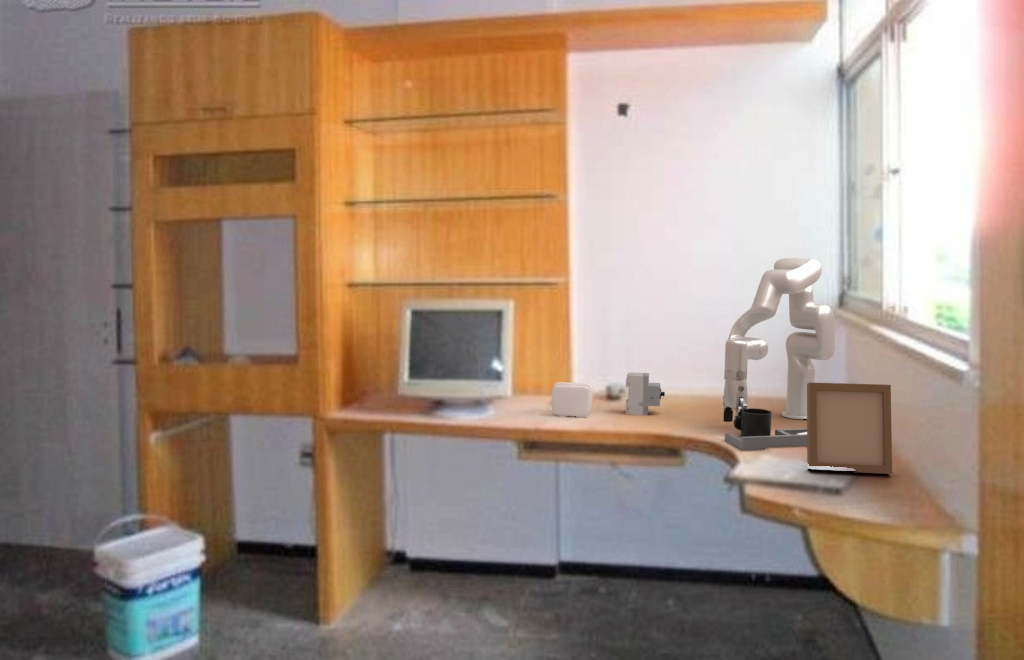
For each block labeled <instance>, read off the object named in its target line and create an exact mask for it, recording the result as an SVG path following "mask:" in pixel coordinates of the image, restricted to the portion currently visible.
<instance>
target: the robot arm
mask: <svg viewBox="0 0 1024 660" xmlns="http://www.w3.org/2000/svg"><path fill="white" fill-rule="evenodd" d="M822 271H823V268H822V265H821V263H820V262H819V260H817V259H814V258H795V257H794V258H793V257H791V258H790V257H788V258H787V257H786V258H780V259H777V260H775V262H774V264H773V269H769V270H766V271H765V272H763V274H762V276H761V278H760V281H759V284H758V286H757V289H756V293H755V296H754V298H753V300H752V301H753V302H752V304H751V307H750V308H749V309H748V310H746V311H745V312H744V313H743V314H742V315H741V316H740V317H739V318H738V319H736V321H735V322H734V323H733V325H732V327H731V328H730V329H731V330H730V333H729V335H728V339H727V340H726V341H725V346H724V349H725V351H724V371H723V373H724V375H723V380H724V386H723V388H724V389H723V396H722V400H723V402H722V405H723V408H722V409H723V422H725V423H729V422H730V423H731V422H734V420H735V419H736V418H737V417H740V416H742V410H743V409H748V408H749V407H748V401H749V400H748V399H749V398H748V395H749V393H748V385H747V384H748V383H747V379H748V361H749V360H750V361H751V360H752V361H753V360H755V361H759V360H762V359H764V358H765V357H766V356H767V355H768V353H769V346H768V343H767V342H766V341H765V340H763V339H762V338H757V337H749V336H746V334H747V333H748V331H749V330H750V329H751V328H752V327H754V326H755V325H756V326H757V325H758V324H759V323H762V322H765V321H767V320H770V319H772V318H774V316H775V315H776V313H777V310H778V308H779V305H780V303H781V302H780V301H781V299H782V296H783V295H788V312H789V313H788V314H789V316H788V317H789V322H790V325H791V327H793V328H795V329H800V330H808V331H809V330H810V331H815V332H808V331H807V332H806V331H794V332H792V333H790V334H789V335H788V336H787V337H786V340H785V350H786V356H787V378H786V379H787V380H786V381H787V382H786V406H785V407H786V409H785V410H784V411H781V416H782V417H785V418H788V419H792V420H803V419H807V384H808V383H815V378H816V377H815V375H816V373H815V372H816V371H815V366H814V363H813V361H812V360H817V361H828V360H830V359H831V358H833V356H834V353H835V349H836V323H835V314H834V311H833V309H832V308H831V307H830V306H829V305H827V304H823V303H822V304H821V303H815V302H814V290H813V287H812V286H813V285H814V284H815V283H817V281H819V279H820V278H821V276H822ZM734 410H735V414H736V415H735V416H734ZM734 417H735V418H734ZM733 419H734V420H733ZM741 423H742V419H739V420H737V422H736V425H737V426H738V427H741Z"/></svg>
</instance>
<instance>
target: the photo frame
mask: <svg viewBox="0 0 1024 660" xmlns="http://www.w3.org/2000/svg"><path fill="white" fill-rule="evenodd" d="M891 386H892V385H891V384H876V383H875V384H874V383H871V384H870V383H843V382H842V383H841V382H840V383H838V382H837V383H836V382H834V383H833V382H814V383H808V384H807V420H806V428H807V446H806V450H807V451H806V456H807V457H806V458H807V459H806V460H807V461H806V464H807V463H808V464H809V466H830V467H832V466H833V467H847V468H853V469H855V470H856V471H857V472H856V473H863V474H865V473H866V474H882V475H883V474H885V475H887V474H888V475H890V474H891V475H893V447H892V446H893V444H892V440H893V439H892V437H893V436H892V435H893V434H892V394H891V393H892V387H891Z"/></svg>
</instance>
